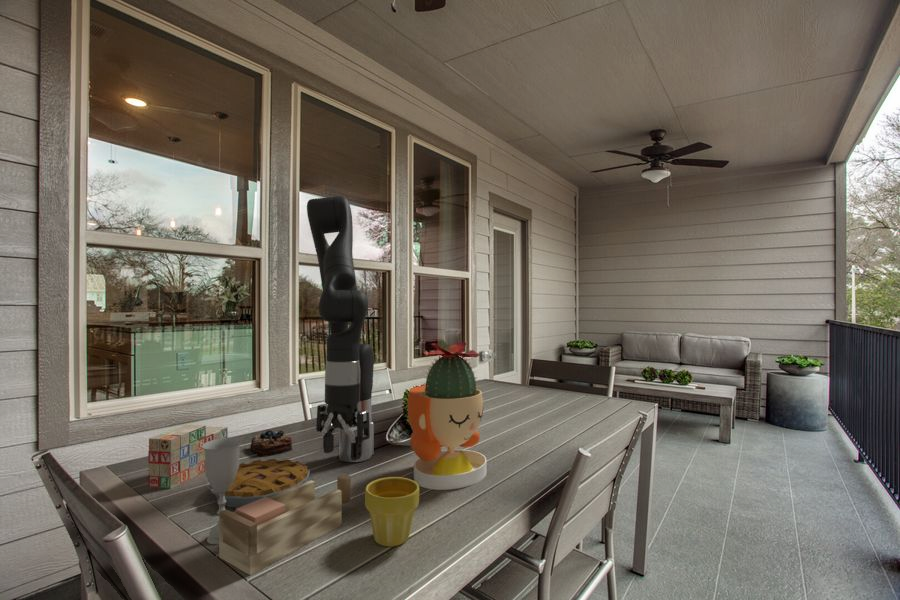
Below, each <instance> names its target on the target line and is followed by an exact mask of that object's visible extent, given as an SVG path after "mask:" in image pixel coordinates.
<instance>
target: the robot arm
mask: <svg viewBox="0 0 900 600" xmlns="http://www.w3.org/2000/svg"><path fill="white" fill-rule="evenodd" d="M306 214H307V219H308V223H309V227H310V233H311V236H312V241H313V244H314V245H313V246H314V249H315V253H316V257H317V262H318V268H319V275H320V281H321V288H322V292H321V294H320V297H319V300H318V309H317V310H318V314H319V316H320V317H321V319H322V320H324V321H325V322H328V325H329V331H330V334H328V336H327V338H326V361H325V362H326V364H325V370H324V403H323V404H319V405H317V407H316V409H317V410H316V411H317V412H316V425H315V427H316V428H315V429H316V432H319V433H321V436H322V437H323V438H322V439H323V441H322V444H323V445H322V449H323V453H325V454H330V453H332V452H334V448H335V447H334V445H335V443H334V442H335V438H334V437H335V434H333V433H334V432H335V430H336V429H338V435H339V437H338V439H339V440H338V444H339V445H338V447H339V449H338V450H339V451H338V458H339V460H340V461H341V462H347V463H360V462H364V461H368V460H370V458H371V457H372V455H374V452H375V451H374V447H375V443H374V442H375V441H374V440H375V439H374V438H375V437H374V436H375V433H374V432H375V430H374V429H375V424H374V422H373V421H372V396H373V395H372V393H373V386H374V382H373V381H374V366H375V355H374V354H375V353H374V349H373V347H372V345H370V343H361V341H360V340H361V336H362V331H363V327H364V323H365V320H366V317H367V313H368V310H369V300H368V297H367V294H365V293H364V291H362V290H358V287H357V281H356V279H357V278H356V271H355V266H354V265H355V264H354V257H353V247H354V246H353V245H354V243H353V241H354V240H353V237H354V236H353V232H354V231H353V228H354V227H353V226H354V225H353V214H352V208H351V205H350V202H349V200H348V199H347V197H345V196H341V195H340V196H338V195H337V196H335V195H334V196H328V197H318V198H312V199H309V200H308V201H307V204H306ZM333 233H337V235H336V237H335V238H334V240H333V241H332V242H331V244H330V245H329V243H328V240H327V238H326V234H333Z"/></svg>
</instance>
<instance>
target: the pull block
mask: <svg viewBox="0 0 900 600" xmlns="http://www.w3.org/2000/svg"><path fill="white" fill-rule="evenodd" d="M351 481H352V480H351V475H348V474H343V475H339V476H338V477H337V482H336V483H337V484H336V485H337V487H336V490H337V489H338V490H341V491H342V504H348V503H349V502H351ZM235 511H236V514H237V515H239V516H241V517H244V518H246V519H248V520H250V521H252V522H254V523H256V524H257V526H258V525H260V524H262V523H264V522H267V521H269V520H271V519H273V518H275V517H278V516H280V515H282V514H284V513H286V505H285V504H282V503H280V502H277V501H275V500H272V499H270V498H267V497H264V498H262V499H259V500H257V501H254V502H252V503H249V504H247V505H244V506H242V507H239V508H235Z"/></svg>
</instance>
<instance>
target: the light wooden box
mask: <svg viewBox="0 0 900 600" xmlns="http://www.w3.org/2000/svg"><path fill="white" fill-rule="evenodd" d="M315 484H316V482H315V480H311V479H310V480H308V481H305V482H304V483H303V484H301V485H298V486H296V487H293V488H291V489H289V490H286V491H284V492H281V493H279V494H276V495H274V496H271V497H269V498H270V499H272V500H275V501H277V502H280V503H282V504H285V505H286V513H284V514H282V515H280V516H278V517H275V518H273V519H271V520H269V521H267V522H264V523H262V524H260V525H258V526H257V524H256V523H254V522H252V521H250V520H248V519H246V518H244V517H241V516H239V515H237V514H236V510H235V511H230V510H228V509H226V510H223V511H221V512H219V514H218V517H219V520H218V522H219V544H218V557H219V558H220V559H221V560H223V561H225V562H227V563H228V564H230V565H232V566H233V567H235V568H237V569H239V570H241V571H242V572H243V573H245V574H247V575H249V576H251V575H253V574H255V573H257V572H259V571H261V570H262V569H265V568H267V566H270V565H271V564H273V563H276V562H277V561H279V560H281V559H283V558H284V557H287V556H288V555H290V554H292V553H293V552H295V551H297V550H299V549H301V548H302V547H304V546H306V545H308V544H310V543H312V542H314V541H316V540H317V539H319V538H321V537H322V536H325V535H326V534H328V533H330V532H331V531H333V530H336V529H338V528H339V527H342V525H343V524H342V520H343V519H342V513H343V512H342V510H343V509H342V508H343V506H342V505H343V503H342V491H341V490H338V489H337V488H336V489H335V490H333V491H330V492H329V493H326V494H324V495H322V496H319V497H317V498H316V494H315V493H316V490H315V489H316V486H315Z"/></svg>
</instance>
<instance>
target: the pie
mask: <svg viewBox="0 0 900 600" xmlns="http://www.w3.org/2000/svg"><path fill="white" fill-rule="evenodd" d="M310 472H311V471H310V470H309V468H308V466H307V465H306V464H305V465H303V464H302V462H300V461H299V460H297V461H295V462H294V461H292V460H291V459H283V460H277V459H276V458H271V459H267V460H261V459H256V460H252V461H251V462H249V463H239V468H238V471H237V474H236V476H235V479H234V481H233V483H232V485H231V487H230V489H229V490H227V491H225V495H224V496H225V500H226V503H225V506H227V507H230V508H235V509H237V508H239V507H242V506H244V505H247V504H249V503H252V502H254V501H257V500H259V499H262V498H264V497H267V498H269V497H271V496H274V495H276V494H279V493H281V492H284V491H286V490H289V489H291V488H293V487H296V486H298V485H301V484H303V483H306V481H307V480H308V478H309V476H310ZM208 489H209V490H210V491H211V494H213V495H214V496H215V499H216V500H217V502H218V501H219V497H220V496H219V493H217V492H214V490H213V489H212V487H211V485H210V484H209V485H208Z"/></svg>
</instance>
